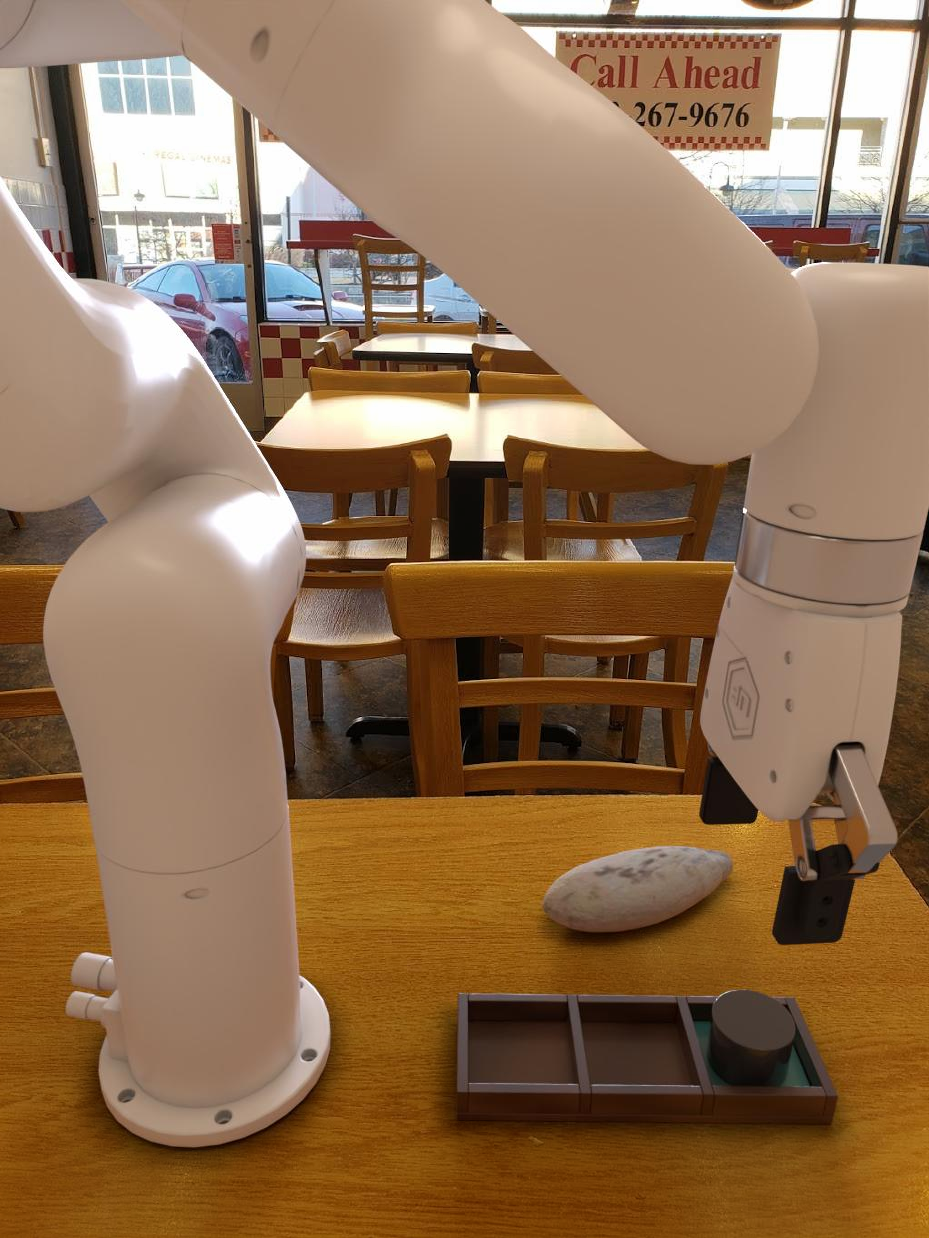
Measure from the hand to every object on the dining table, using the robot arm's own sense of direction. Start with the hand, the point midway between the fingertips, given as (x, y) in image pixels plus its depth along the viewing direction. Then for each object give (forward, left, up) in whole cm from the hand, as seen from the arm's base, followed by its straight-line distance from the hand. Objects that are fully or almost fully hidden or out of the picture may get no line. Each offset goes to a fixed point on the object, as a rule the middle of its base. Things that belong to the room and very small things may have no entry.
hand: (762, 875), depth 48 cm
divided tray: (-5, -2, -13) cm, 14 cm away
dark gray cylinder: (+1, 0, -12) cm, 12 cm away
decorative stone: (-6, +13, -13) cm, 19 cm away
